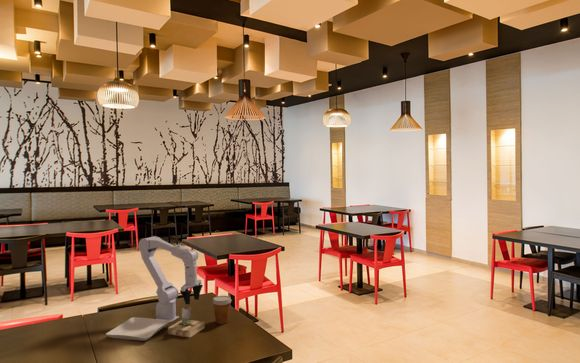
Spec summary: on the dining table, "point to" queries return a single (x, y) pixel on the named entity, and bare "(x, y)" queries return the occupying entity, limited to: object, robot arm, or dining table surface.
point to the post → (186, 315)
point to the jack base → (186, 328)
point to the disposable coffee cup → (221, 308)
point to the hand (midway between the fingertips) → (192, 301)
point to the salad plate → (138, 328)
